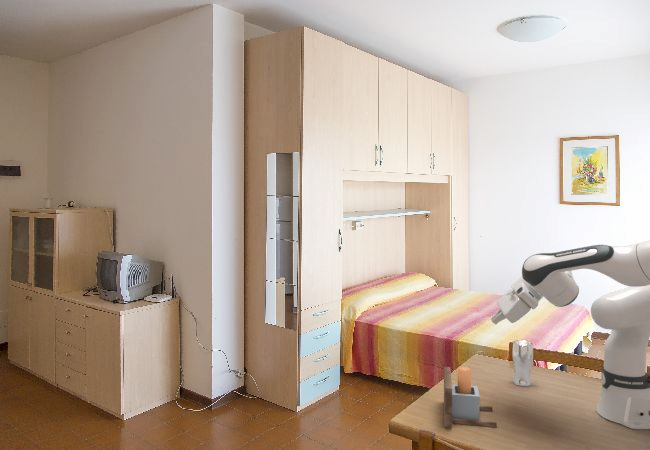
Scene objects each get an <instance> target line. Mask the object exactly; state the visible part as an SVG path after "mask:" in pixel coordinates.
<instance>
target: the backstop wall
mask: <svg viewBox="0 0 650 450" xmlns="http://www.w3.org/2000/svg"><path fill="white" fill-rule="evenodd" d="M452 384H453V383H452V372H451V367H449V366H444V367H443V415H444V416H443V417H444V428H447V429H452V428H453V425H454V424H457V425H467V426H477V427H478V426H479V427H489V428H490V427H491V428H497V425H498V422H497V421H487V420H486V421H485V420H479V421H478V420H466V419H455V418H452ZM493 409H494V408H493V406H489V405H488V406H487V405H480V407H479V411H484V412H493V411H494V410H493Z"/></svg>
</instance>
